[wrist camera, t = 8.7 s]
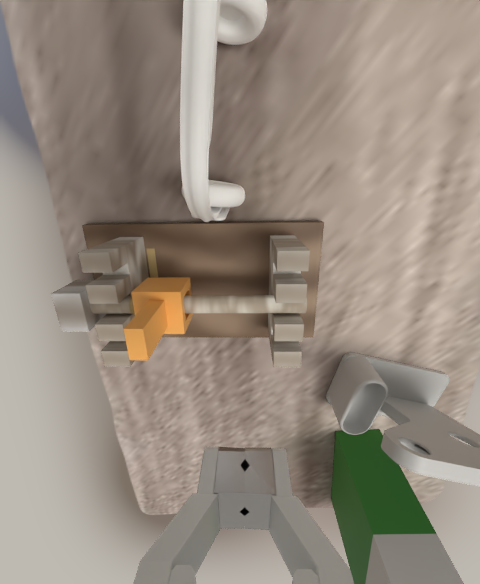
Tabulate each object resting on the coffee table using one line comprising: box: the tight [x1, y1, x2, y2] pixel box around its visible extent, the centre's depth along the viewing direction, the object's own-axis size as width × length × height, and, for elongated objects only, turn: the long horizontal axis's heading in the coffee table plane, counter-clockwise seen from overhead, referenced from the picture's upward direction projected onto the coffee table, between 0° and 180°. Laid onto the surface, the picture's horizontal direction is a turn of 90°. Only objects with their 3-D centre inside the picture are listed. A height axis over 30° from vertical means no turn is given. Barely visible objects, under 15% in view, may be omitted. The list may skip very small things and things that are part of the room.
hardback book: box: [331, 429, 464, 584], centre depth 38 cm, size 18×7×24 cm, turn 4°
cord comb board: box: [51, 221, 324, 367], centre depth 33 cm, size 16×30×10 cm, turn 91°
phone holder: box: [326, 352, 480, 487], centre depth 35 cm, size 17×10×18 cm, turn 77°
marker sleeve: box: [124, 277, 193, 360], centre depth 27 cm, size 5×5×11 cm
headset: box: [180, 0, 267, 222], centre depth 22 cm, size 20×7×18 cm, turn 173°
